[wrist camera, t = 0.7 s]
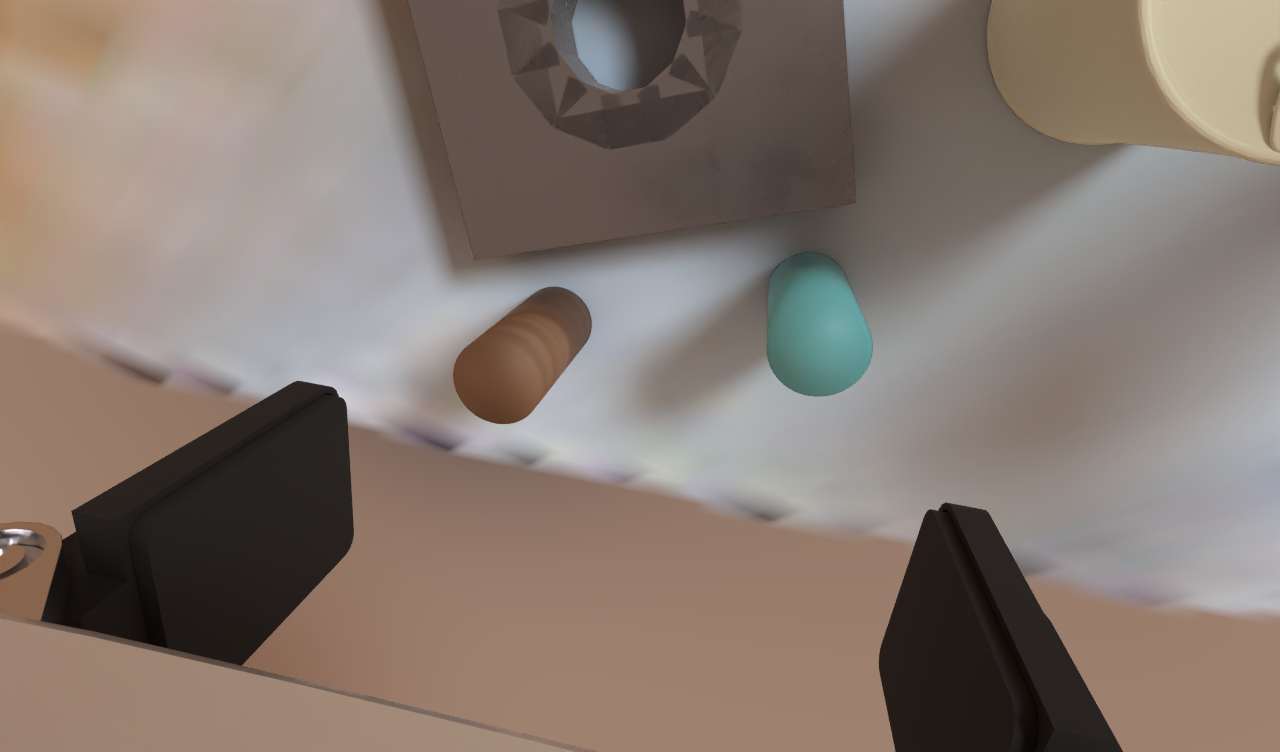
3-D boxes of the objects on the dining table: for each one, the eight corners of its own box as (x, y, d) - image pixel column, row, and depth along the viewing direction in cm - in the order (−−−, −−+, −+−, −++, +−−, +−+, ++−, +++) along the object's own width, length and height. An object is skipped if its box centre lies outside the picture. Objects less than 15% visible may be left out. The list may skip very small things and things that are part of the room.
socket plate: (816, -279, 23) (822, -331, 20) (847, 193, 29) (855, 203, 26) (402, -152, 27) (360, -181, 24) (499, 247, 32) (474, 260, 30)
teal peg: (845, 247, 29) (869, 293, 22) (850, 323, 31) (875, 391, 23) (764, 258, 30) (762, 306, 23) (772, 331, 31) (772, 400, 24)
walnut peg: (583, 282, 32) (528, 334, 25) (597, 351, 33) (549, 420, 26) (515, 291, 33) (442, 344, 26) (531, 358, 34) (466, 427, 27)
